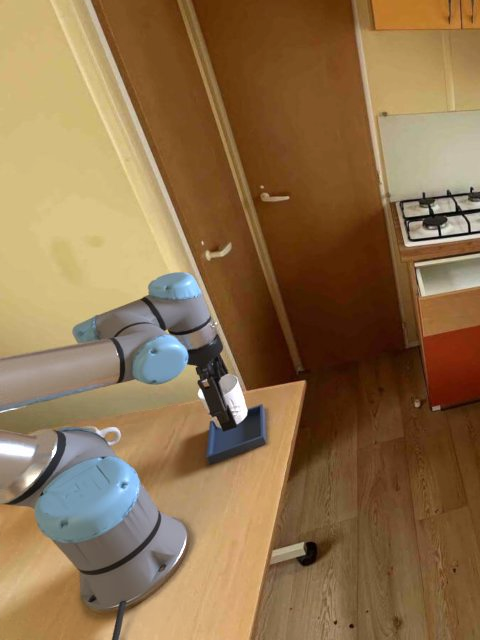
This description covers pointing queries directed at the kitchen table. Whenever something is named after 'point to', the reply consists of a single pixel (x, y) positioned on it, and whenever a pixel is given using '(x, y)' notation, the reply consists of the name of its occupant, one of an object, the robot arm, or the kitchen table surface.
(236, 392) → the white cup
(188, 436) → the kitchen table surface
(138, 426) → the kitchen table surface
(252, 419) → the tray
